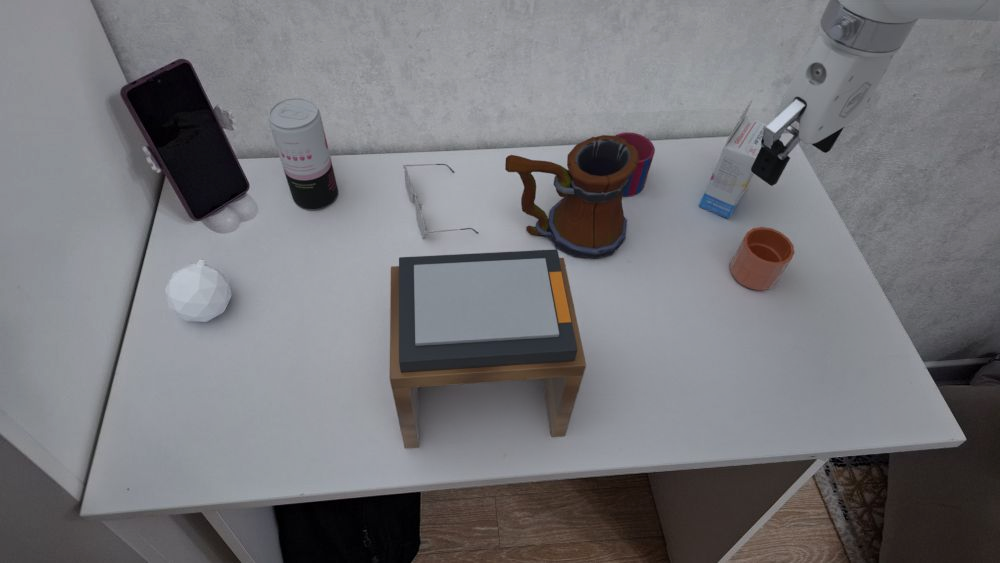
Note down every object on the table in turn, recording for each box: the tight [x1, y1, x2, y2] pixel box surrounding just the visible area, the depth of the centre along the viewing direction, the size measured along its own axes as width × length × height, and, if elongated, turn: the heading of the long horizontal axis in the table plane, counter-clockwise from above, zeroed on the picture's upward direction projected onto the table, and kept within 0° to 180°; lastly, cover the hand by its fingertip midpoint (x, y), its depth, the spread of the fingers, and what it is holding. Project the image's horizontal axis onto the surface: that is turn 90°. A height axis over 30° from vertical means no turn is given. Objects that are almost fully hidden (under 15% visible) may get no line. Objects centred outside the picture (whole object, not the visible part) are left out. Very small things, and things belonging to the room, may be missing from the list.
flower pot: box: [729, 226, 796, 291], centre depth 83 cm, size 6×6×6 cm
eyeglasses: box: [402, 163, 479, 240], centre depth 89 cm, size 14×8×4 cm, turn 18°
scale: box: [398, 248, 578, 373], centre depth 59 cm, size 16×12×2 cm
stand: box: [389, 257, 587, 449], centre depth 66 cm, size 18×13×16 cm
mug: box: [504, 134, 640, 259], centre depth 83 cm, size 18×12×15 cm, turn 95°
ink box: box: [698, 98, 768, 220], centre depth 88 cm, size 8×5×15 cm, turn 147°
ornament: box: [164, 259, 233, 323], centre depth 75 cm, size 7×7×8 cm
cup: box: [614, 132, 656, 197], centre depth 93 cm, size 7×10×7 cm
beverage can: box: [267, 96, 339, 211], centre depth 85 cm, size 6×7×15 cm
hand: (790, 161), depth 71 cm, fingers open, 9 cm apart
